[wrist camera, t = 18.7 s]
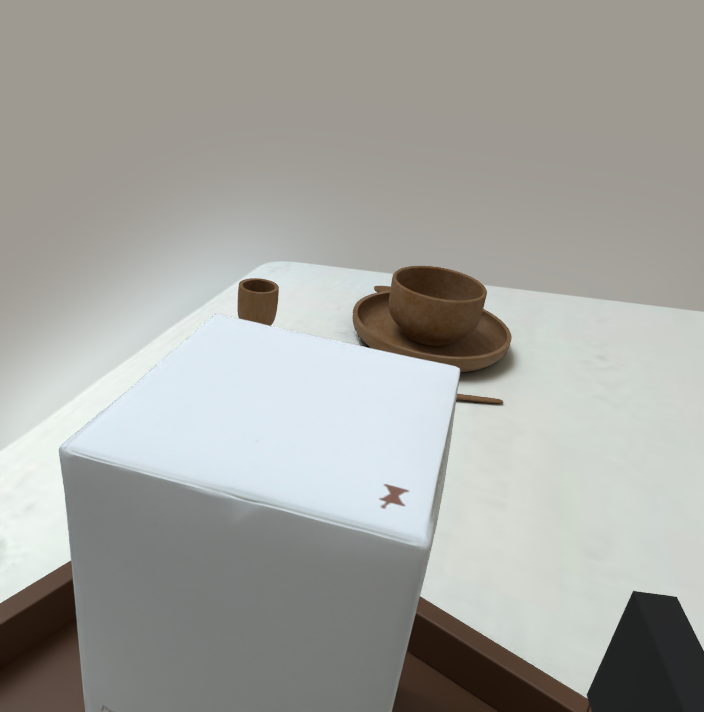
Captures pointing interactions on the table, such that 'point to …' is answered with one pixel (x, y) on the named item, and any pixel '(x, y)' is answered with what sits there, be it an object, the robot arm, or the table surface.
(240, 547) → the white packaging box
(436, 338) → the place setting
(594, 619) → the table surface
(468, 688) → the tray
